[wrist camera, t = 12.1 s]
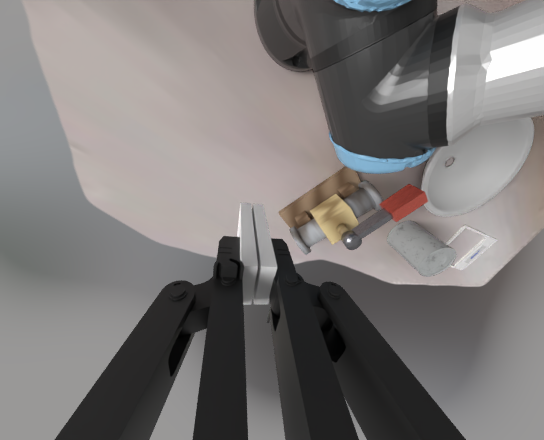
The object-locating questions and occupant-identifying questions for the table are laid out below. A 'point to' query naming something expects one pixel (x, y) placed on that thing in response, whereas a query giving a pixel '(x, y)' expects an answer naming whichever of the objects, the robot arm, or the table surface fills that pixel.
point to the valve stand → (330, 209)
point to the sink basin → (476, 167)
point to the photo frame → (473, 253)
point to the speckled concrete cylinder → (421, 248)
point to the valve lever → (386, 214)
